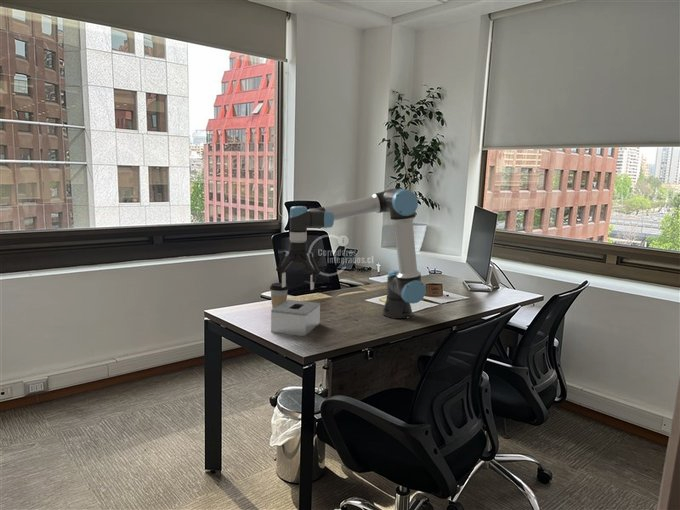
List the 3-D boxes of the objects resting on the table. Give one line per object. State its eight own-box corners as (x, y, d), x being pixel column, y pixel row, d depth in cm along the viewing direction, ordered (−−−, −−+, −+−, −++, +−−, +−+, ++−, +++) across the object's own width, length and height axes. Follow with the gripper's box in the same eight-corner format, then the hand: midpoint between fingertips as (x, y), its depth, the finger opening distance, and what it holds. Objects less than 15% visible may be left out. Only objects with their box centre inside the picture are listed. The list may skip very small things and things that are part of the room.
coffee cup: (279, 310, 253) (279, 281, 251) (292, 314, 247) (292, 284, 245) (265, 313, 246) (265, 284, 244) (278, 317, 240) (279, 287, 238)
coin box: (319, 323, 233) (320, 303, 231) (305, 336, 214) (305, 313, 212) (287, 319, 237) (288, 299, 235) (271, 331, 218) (271, 309, 216)
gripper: (327, 241, 219) (326, 288, 223) (275, 238, 226) (275, 284, 229) (322, 243, 212) (321, 292, 216) (268, 240, 219) (268, 287, 222)
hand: (297, 288), depth 222 cm, fingers open, 13 cm apart
